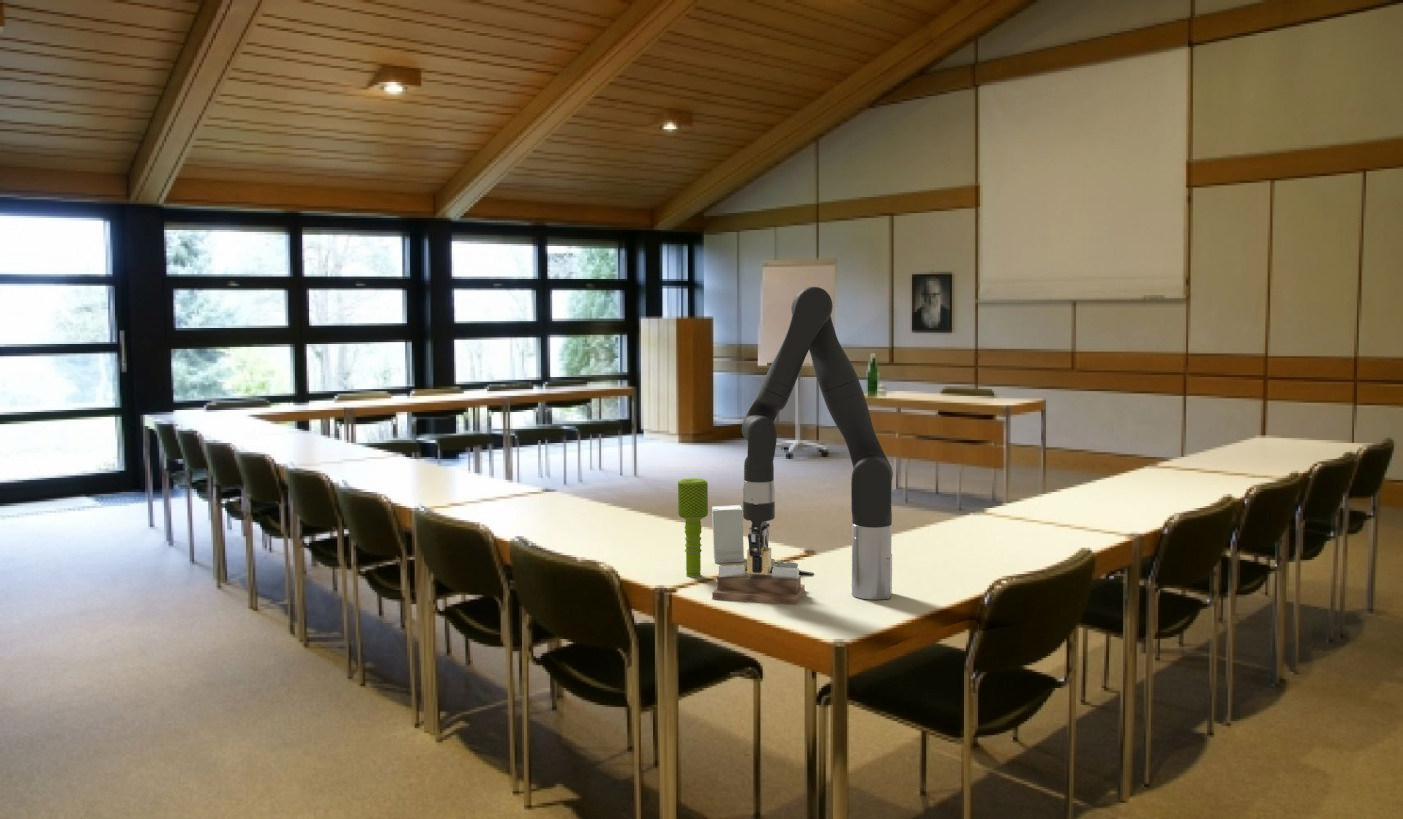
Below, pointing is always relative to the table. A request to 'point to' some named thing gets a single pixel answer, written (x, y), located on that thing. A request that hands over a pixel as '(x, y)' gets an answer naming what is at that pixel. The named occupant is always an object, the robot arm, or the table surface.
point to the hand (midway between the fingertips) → (759, 569)
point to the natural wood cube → (765, 561)
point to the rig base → (758, 596)
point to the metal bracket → (786, 565)
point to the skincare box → (728, 533)
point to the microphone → (693, 519)
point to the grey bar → (776, 572)
